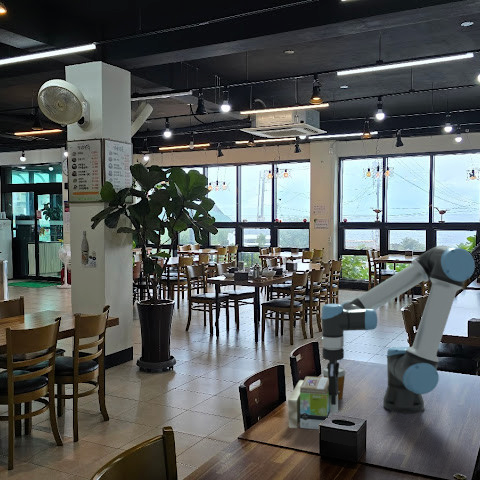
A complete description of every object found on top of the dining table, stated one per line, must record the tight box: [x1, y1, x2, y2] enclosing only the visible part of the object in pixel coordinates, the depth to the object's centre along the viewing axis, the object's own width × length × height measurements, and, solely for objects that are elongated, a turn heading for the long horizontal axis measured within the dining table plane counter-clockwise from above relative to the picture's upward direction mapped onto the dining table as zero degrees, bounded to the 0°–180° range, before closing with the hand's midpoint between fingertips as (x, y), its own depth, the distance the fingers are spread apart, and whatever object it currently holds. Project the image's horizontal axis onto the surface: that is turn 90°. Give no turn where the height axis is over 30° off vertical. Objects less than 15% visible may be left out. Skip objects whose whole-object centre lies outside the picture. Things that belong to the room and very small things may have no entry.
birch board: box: [287, 379, 304, 429], centre depth 207 cm, size 3×24×10 cm, turn 164°
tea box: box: [299, 376, 333, 430], centre depth 200 cm, size 15×10×15 cm, turn 165°
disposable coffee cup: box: [322, 366, 347, 401], centre depth 226 cm, size 10×10×12 cm
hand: (334, 412), depth 198 cm, fingers closed
